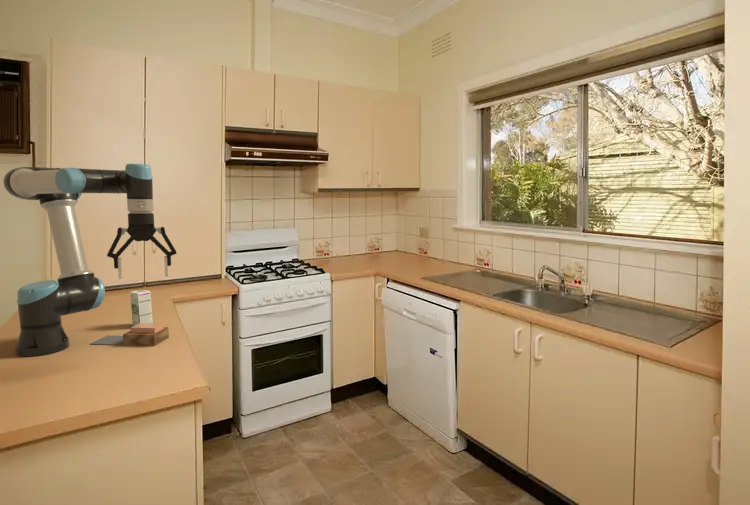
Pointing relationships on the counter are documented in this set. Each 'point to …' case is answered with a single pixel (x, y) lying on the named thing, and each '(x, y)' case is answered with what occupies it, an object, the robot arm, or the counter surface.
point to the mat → (109, 340)
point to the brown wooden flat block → (145, 338)
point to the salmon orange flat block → (147, 328)
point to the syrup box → (141, 307)
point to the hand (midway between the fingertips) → (143, 277)
